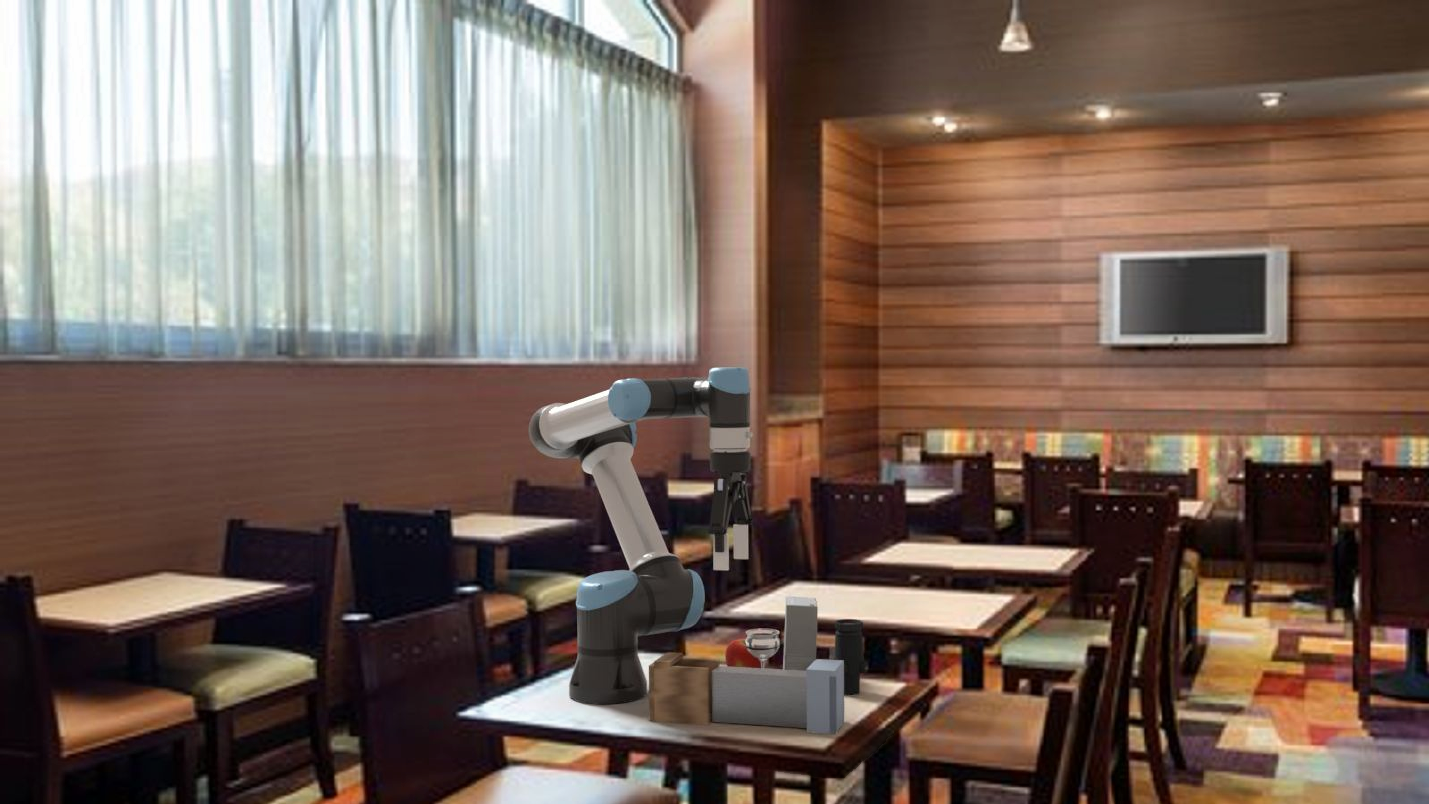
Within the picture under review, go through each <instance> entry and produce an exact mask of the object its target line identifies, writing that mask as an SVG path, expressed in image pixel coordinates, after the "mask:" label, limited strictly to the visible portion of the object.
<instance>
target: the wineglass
mask: <svg viewBox="0 0 1429 804" xmlns="http://www.w3.org/2000/svg"><path fill="white" fill-rule="evenodd" d="M745 635H747V638H746V637H745V639H746V641H745V644H746V645H745V646H746V648H747V650H748V651H749V653H750V654H751V655H752V656H754V657H756V658H758V659H759V661H761V668H765V669H766V661H767V660H768V659H769V658H772V657H773V656H774V655H776V653H777V652H778V651H779V648H780V645H781V639H780V637H779V635H780V631H779V630H777V629H773V628H753V629H748V630H746V631H745Z"/></svg>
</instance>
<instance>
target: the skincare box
mask: <svg viewBox="0 0 1429 804" xmlns="http://www.w3.org/2000/svg"><path fill="white" fill-rule="evenodd" d="M817 603H818V601H817V598H816V597H808V596H785V610H784V611H785V616H784V619H785V620H784V638H783V658H782V659H783V662H782V663H783V664H782V670H800V671H806V669H807V668H808V667H809V666H810V665H811V664H812V663H813V662H814V661H815V660H816V659H817V641H818V640H817V639H818V610H819V609H818V604H817Z"/></svg>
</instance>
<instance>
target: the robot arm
mask: <svg viewBox="0 0 1429 804" xmlns="http://www.w3.org/2000/svg"><path fill="white" fill-rule="evenodd" d="M708 372H709V373H708V377H696V376H685V377H669V378H668V377H666V378H635V377H631V378H626V379H619V380H618V379H617V380H615V381H614V383H612V386H611V387H610V388H609V389H607V390H604V391H601V392H598V393H596V394H593V395H589V396H587V397H584V398H581V399H577V400H576V401H573V402H569V403H564V402H563V403H562V402H555V403H551V404H549V405H545V406H542V407H541V408H539V409H537V410H536V412H534V414H533V415H532V416H531V419H530V421H529V425H528V436H529V439H530V442H531V443H532V444H533V446H534V447H535V448H536V450H537V451H538V452H540V453H541V454H543V455H545V456H546V457H550V458H554V459H578V461H579V463H580V466H581V468H582V471H583V472H585V473H586V474H589V475H592V477H593V479H594V482H595V485H596V487H597V489H598V491H599V495H600V497H601V499H602V502H603V504H604V507H605V510H606V512H607V515H608V517H609V520H610V522H611V526H612V528H613V530H614V532H615V535H616V537H617V540H618V542H619V545H620V547H621V550H622V552H623V555H624V558H625V560H626V563H627V565H628V566H627V567H628V568H629V570H627V569H617V570H613V571H612V570H611V571H610V570H609V571H608V570H607V571H602V572H598V573H593V574H591V575H588V576H586V577H585V578H583V579H582V580H581V581H580V582H579V584H578V585H577V590H576V600H575V606H576V617H577V618H576V621H577V626H576V627H577V632H576V633H577V658H576V660H575V665H574V667H573V671H572V674H571V676H570V681H569V685H568V687H569V688H568V690H569V691H568V695H569V697H570V698H571V699H572V700H574V701H577V702H579V703H580V702H581V703H587V704H588V703H589V704H599V705H600V704H602V705H603V704H605V705H606V704H618V703H619V704H620V703H627V702H632V701H637V700H639V699H642V698H644V697H646V695H647V694H648V680H647V677H646V674H645V672H644V669H643V665H642V663H641V660H640V657H639V650H638V646H639V645H638V644H639V643H638V637H644V636H649V635H656V634H663V633H669V632H679V631H680V630H684V629H689V628H692V627H693V626H695V625H696V624H697V623H698V622H699V620H700V618H701V616H702V615H703V611H704V606H705V605H704V604H705V586H704V584H703V580H702V578H701V577H700V575H699V574H698V573H697V572H696V571H695V570H693V569H689V568H688V569H684V567H683V563H682V562H681V560H680V557H679V556H678V555H676V554H673V553H670V552H669V550H668V548H667V545H666V542H665V540H664V538H663V536H662V533H661V531H660V527H659V525H658V523H657V521H656V519H655V515H654V514H653V512H652V509H651V507H650V505H649V502H648V500H647V497H646V494H645V492H644V490H643V487H642V485H641V483H640V480H639V478H638V474H637V473H636V470H635V468H634V465H633V463H632V461H631V459H632V457H633V455H634V452H635V450H634V448H635V446H636V442H637V439H638V438H637V437H638V435H637V434H636V431H637V425H636V423H638V422H641V421H643V420H644V421H645V420H651V419H652V420H655V419H673V418H674V419H679V418H681V419H682V418H709V448H710V449H711V450H712V451H710V453H709V468H710V469H709V470H710V471H711V472H713V473H719V478H714V480H713V494H712V495H713V496H712V502H711V511H710V517H709V525H708V526H709V527H708V529H707V533H708V535H712V547H713V548H712V551H713V552H712V555H713V556H712V557H713V558H712V559H713V560H712V561H713V567H712V569H713V571H729V570H730V555H729V554H730V552H729V551H730V549H729V548H730V547H729V544H730V543H729V542H730V540H729V538H730V537H729V535H730V534H729V533H728V527H729V523H730V517H731V512H732V517H733V519H734V524H733V525H732V526H733V531H732V534H733V559H734V560H749V525H752V524H753V523H754V522H753V521H754V520H753V518H752V511H751V505H750V499H749V494H748V493H749V492H748V485H747V474H746V473H747V472H749V471H750V470H751V469H752V468H751V452H750V451H749V450H748V449H749V448H751V438H752V437H753V435H754V433H753V432H752V431H750V430H751V427H750V426H751V424H750V423H751V384H750V374H749V373H750V372H749V370H748V369H747V368H746V367H743V366H742V367H741V366H739V367H738V366H736V367H735V366H734V367H732V366H730V367H725V366H724V367H719V366H718V367H712V368H710V369H709V371H708Z"/></svg>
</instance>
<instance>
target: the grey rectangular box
mask: <svg viewBox="0 0 1429 804" xmlns="http://www.w3.org/2000/svg"><path fill="white" fill-rule="evenodd" d="M711 718H712V721H711V722H714V723H724V724H725V723H728V724H741V725H756V726H769V727H771V726H773V727H784V728H798V729H800V728H801V729H807V678H806V671H800V670H783V668H782V669H780V668H779V669H778V668H777V669H776V668H766V667H765V668H747V667H730V666H727V665H726V666H725V665H720V666H718V667H717V668H716V669H714V670H713V671H712V717H711Z"/></svg>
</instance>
